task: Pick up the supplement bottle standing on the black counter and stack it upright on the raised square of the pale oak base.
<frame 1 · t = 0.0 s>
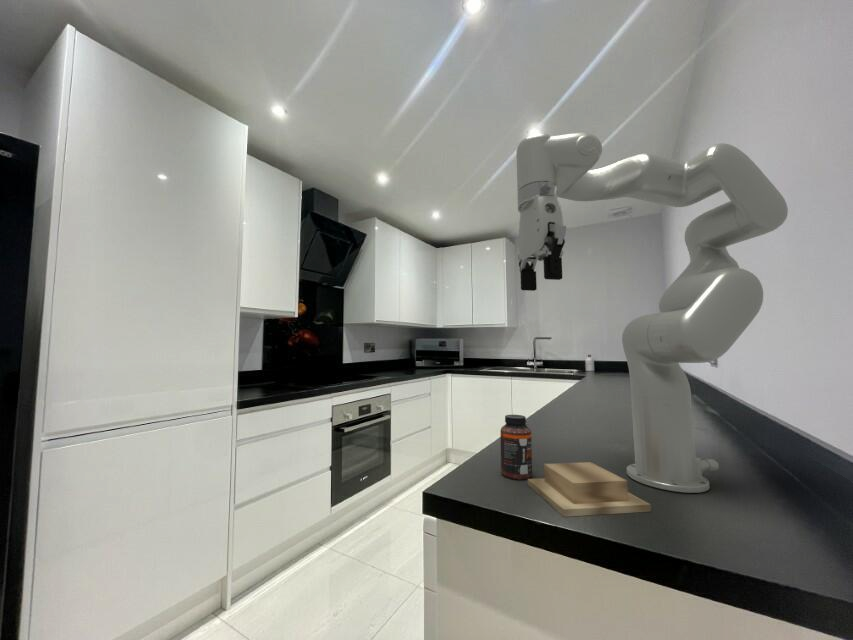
hand: (540, 285, 63), 37 cm above the worktop, tool pointing down, fingers open, 9 cm apart
supplement bottle: (516, 476, 64), on the worktop
oak base: (583, 496, 54), on the worktop
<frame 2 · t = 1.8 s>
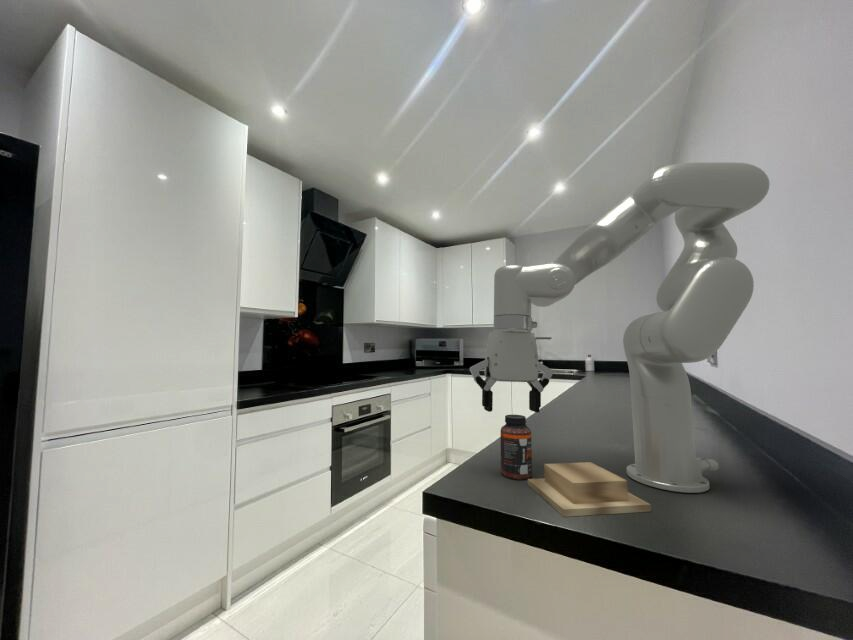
hand: (511, 410, 66), 12 cm above the worktop, tool pointing down, fingers open, 9 cm apart
nothing on the worktop moved.
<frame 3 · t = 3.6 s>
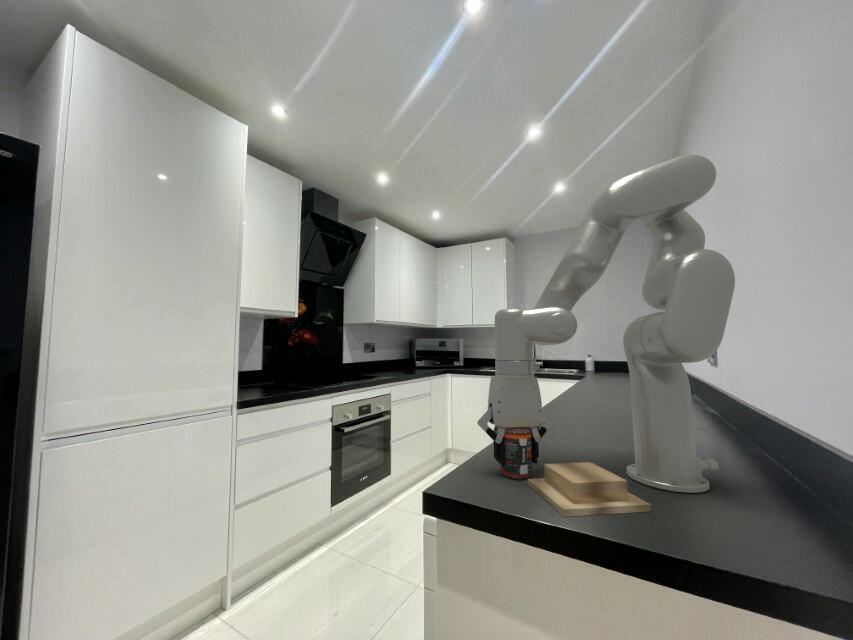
hand: (516, 461, 64), 3 cm above the worktop, tool pointing down, fingers closed on supplement bottle, 6 cm apart
supplement bottle: (516, 476, 64), on the worktop, touching gripper
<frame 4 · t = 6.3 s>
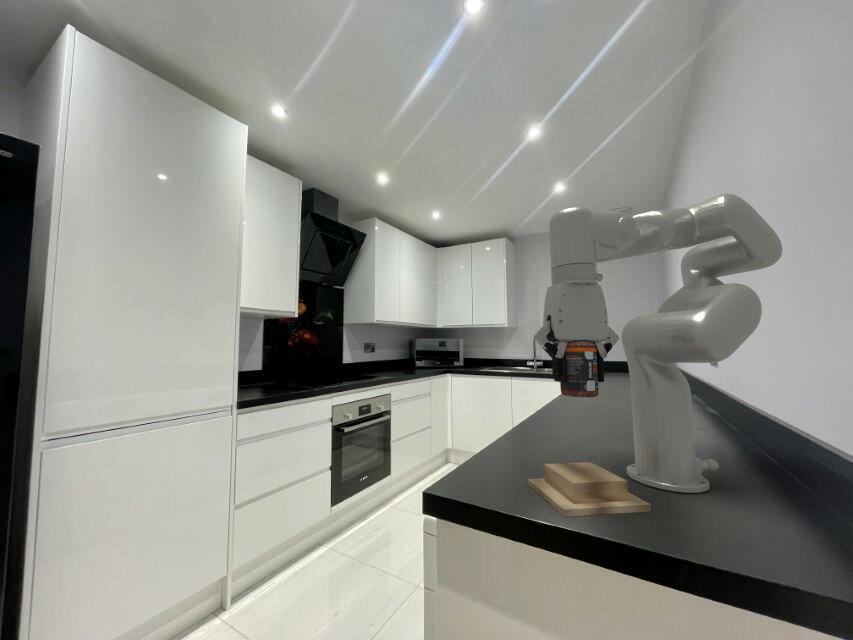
hand: (578, 380, 56), 19 cm above the worktop, tool pointing down, fingers closed on supplement bottle, 6 cm apart
supplement bottle: (579, 397, 56), point 16 cm above the worktop, touching gripper
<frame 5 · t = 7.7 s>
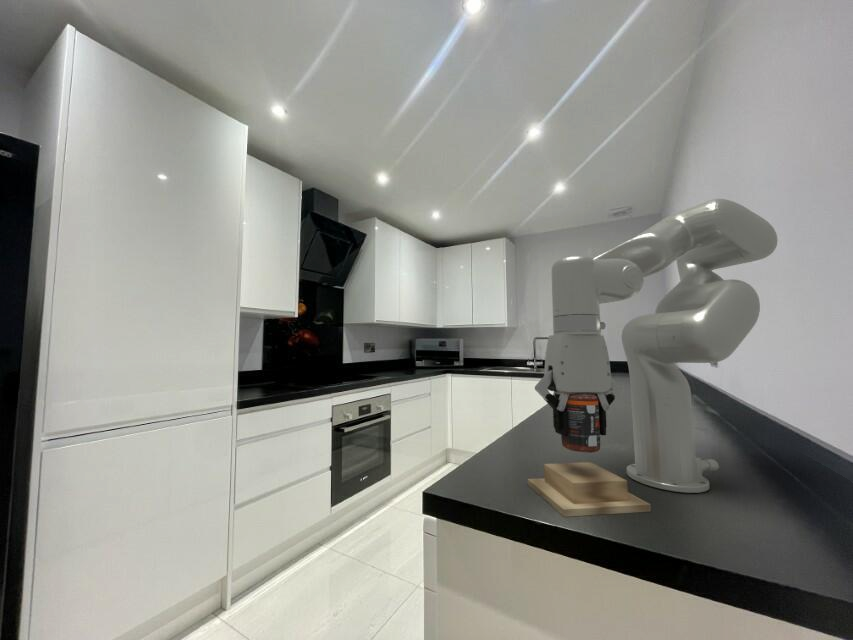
hand: (580, 432, 55), 10 cm above the worktop, tool pointing down, fingers closed on supplement bottle, 6 cm apart
supplement bottle: (580, 450, 55), point 8 cm above the worktop, touching gripper
when the fingers open (8 cm above the worktop, at t = 9.1 s): supplement bottle drops 1 cm, resting on oak base.
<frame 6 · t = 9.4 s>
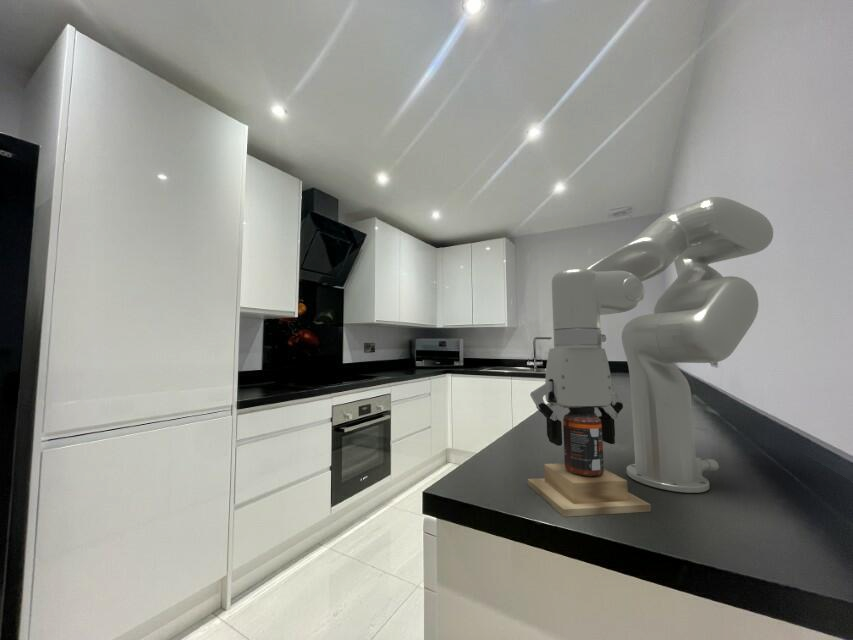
hand: (581, 442, 55), 9 cm above the worktop, tool pointing down, fingers open, 9 cm apart
supplement bottle: (584, 472, 55), point 4 cm above the worktop, touching oak base
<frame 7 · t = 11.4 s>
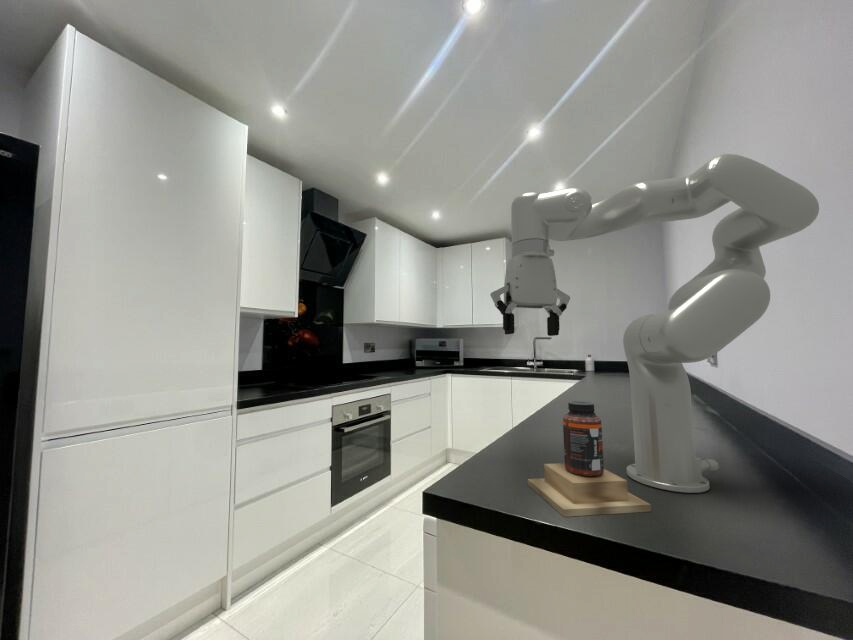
hand: (531, 334, 67), 28 cm above the worktop, tool pointing down, fingers open, 9 cm apart
nothing on the worktop moved.
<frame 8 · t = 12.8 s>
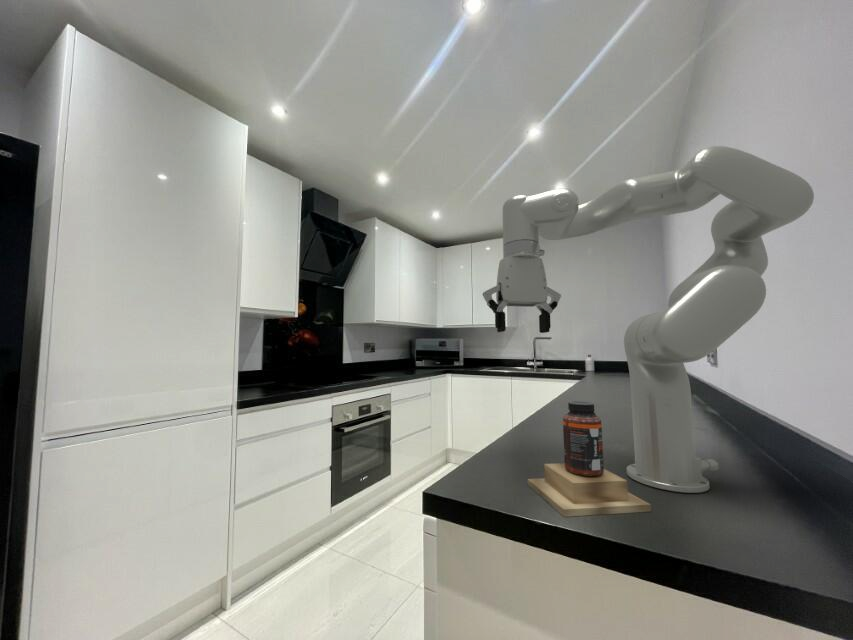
hand: (523, 332, 70), 28 cm above the worktop, tool pointing down, fingers open, 9 cm apart
nothing on the worktop moved.
at the end: supplement bottle inside the target area on the oak base (0.3 cm from its centre), point 3.8 cm above the oak base's base; supplement bottle tilted 0°; the gripper is holding nothing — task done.
